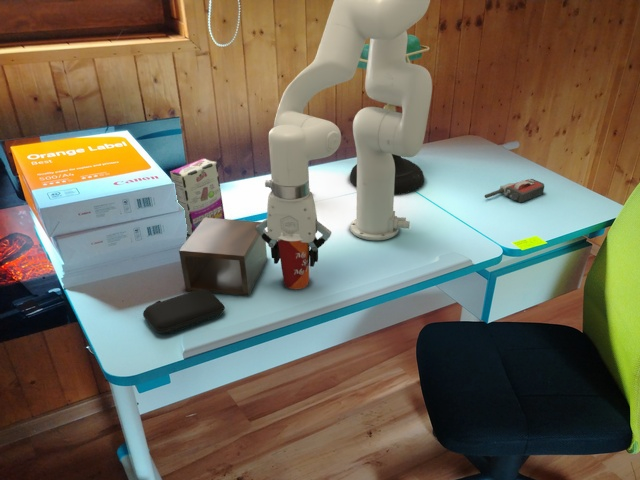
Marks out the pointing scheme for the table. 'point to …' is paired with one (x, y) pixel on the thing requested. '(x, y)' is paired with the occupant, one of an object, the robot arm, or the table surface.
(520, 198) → the walkie-talkie
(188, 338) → the table surface
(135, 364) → the table surface
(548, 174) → the table surface
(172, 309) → the carrying case
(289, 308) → the table surface
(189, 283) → the shelf
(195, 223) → the candy bar box
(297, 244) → the paper cup
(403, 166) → the banker's lamp
